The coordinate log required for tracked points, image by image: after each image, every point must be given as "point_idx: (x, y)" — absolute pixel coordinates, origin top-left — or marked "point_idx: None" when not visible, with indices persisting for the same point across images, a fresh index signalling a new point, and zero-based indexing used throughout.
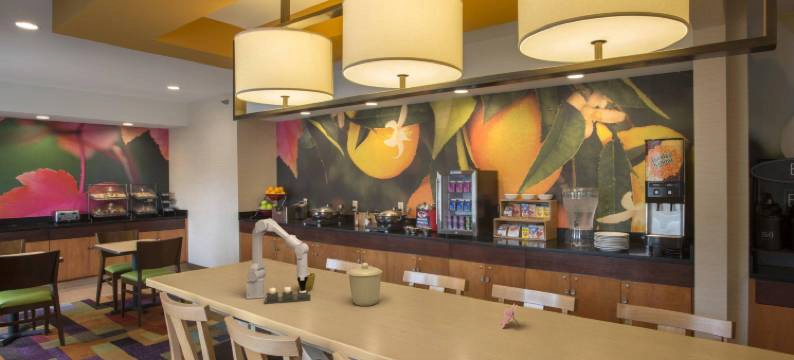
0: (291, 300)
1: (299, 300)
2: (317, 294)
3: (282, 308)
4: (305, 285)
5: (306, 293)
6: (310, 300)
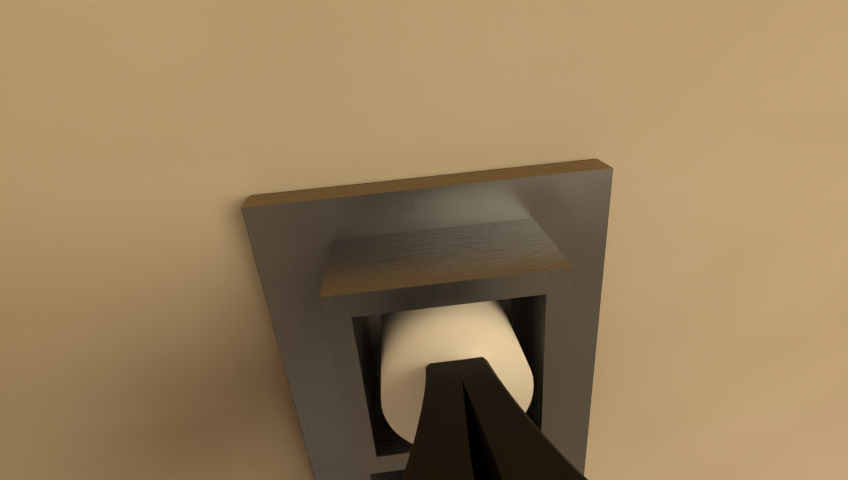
0: (587, 431)
1: (592, 333)
2: (102, 53)
3: (809, 451)
4: (560, 453)
5: (564, 290)
6: (598, 161)
